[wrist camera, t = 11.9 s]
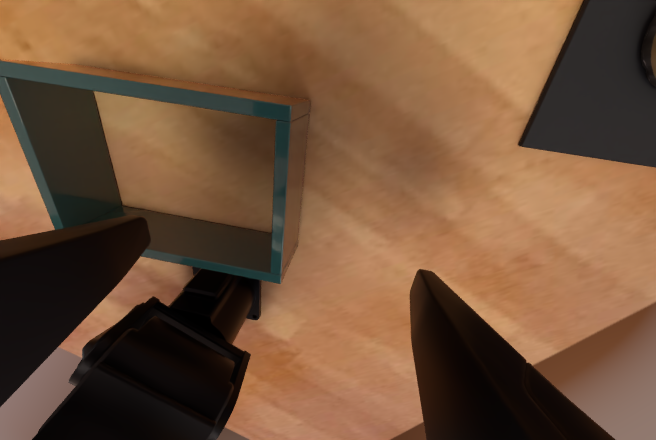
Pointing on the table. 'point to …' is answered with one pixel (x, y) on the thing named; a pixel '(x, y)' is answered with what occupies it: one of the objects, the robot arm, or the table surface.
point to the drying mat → (600, 88)
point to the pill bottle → (650, 52)
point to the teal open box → (98, 177)
